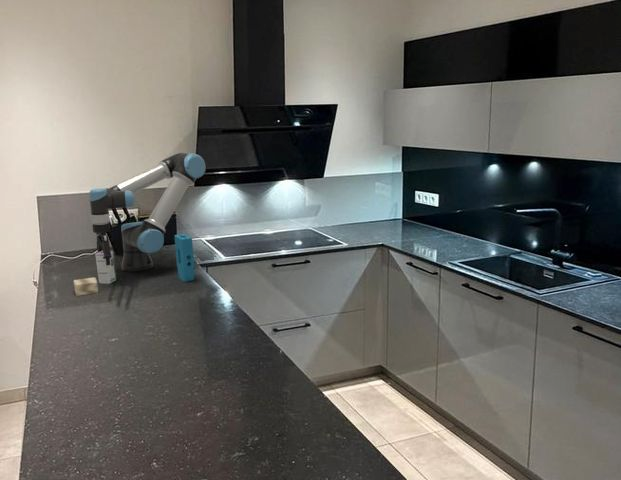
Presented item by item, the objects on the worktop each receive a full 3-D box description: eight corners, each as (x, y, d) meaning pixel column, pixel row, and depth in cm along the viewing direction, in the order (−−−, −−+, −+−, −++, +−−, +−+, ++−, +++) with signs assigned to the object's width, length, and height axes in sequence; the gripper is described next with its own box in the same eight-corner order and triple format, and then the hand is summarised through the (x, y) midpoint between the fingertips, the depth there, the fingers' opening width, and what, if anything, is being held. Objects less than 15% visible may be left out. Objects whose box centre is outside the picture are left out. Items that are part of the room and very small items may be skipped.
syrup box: (110, 283, 264) (106, 253, 261) (98, 283, 265) (94, 252, 262) (116, 280, 269) (113, 250, 266) (105, 279, 270) (101, 249, 267)
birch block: (96, 287, 259) (95, 277, 258) (98, 293, 251) (97, 282, 250) (74, 291, 255) (73, 280, 254) (76, 296, 248) (74, 285, 246)
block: (177, 276, 272) (173, 235, 268) (187, 274, 275) (184, 233, 270) (185, 282, 262) (181, 239, 258) (195, 280, 265) (192, 238, 260)
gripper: (87, 220, 270) (91, 264, 274) (97, 228, 249) (102, 275, 253) (104, 218, 273) (108, 261, 278) (115, 226, 252) (119, 273, 257)
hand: (105, 268), depth 265 cm, fingers open, 13 cm apart
